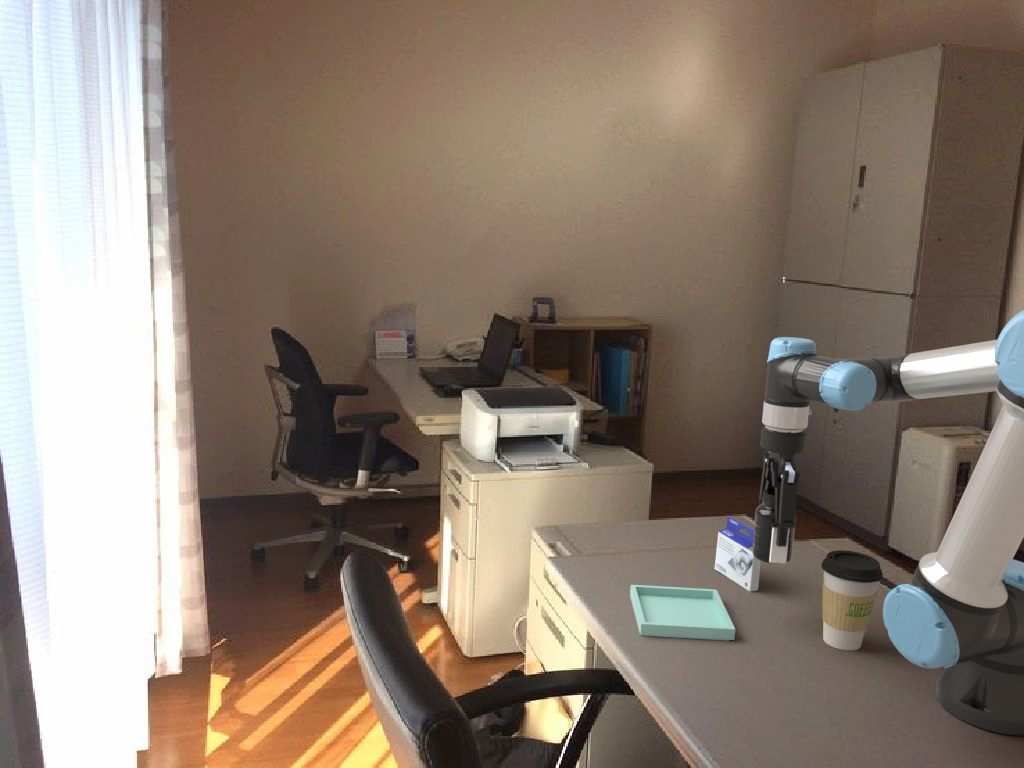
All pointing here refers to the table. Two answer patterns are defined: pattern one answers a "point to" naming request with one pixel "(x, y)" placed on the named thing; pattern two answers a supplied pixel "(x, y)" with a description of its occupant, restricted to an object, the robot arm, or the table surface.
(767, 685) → the table surface
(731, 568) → the ink box
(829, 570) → the coffee cup
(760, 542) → the supplement bottle
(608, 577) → the table surface
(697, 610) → the tray
